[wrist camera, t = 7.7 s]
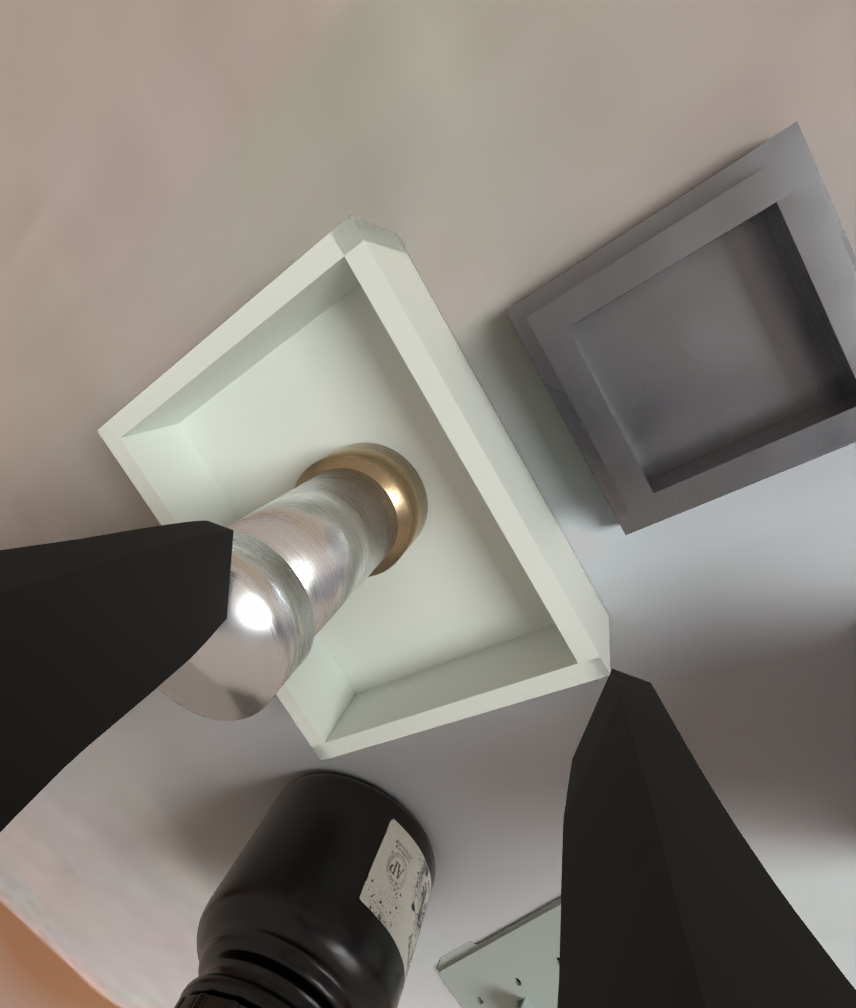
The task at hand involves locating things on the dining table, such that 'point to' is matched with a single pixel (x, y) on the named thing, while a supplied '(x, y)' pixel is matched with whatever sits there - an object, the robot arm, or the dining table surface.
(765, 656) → the dining table surface
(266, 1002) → the ink bottle
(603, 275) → the socket base
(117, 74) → the dining table surface
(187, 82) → the dining table surface
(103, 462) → the dining table surface
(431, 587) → the tray
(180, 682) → the silver rounded piece
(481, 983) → the metal bracket
